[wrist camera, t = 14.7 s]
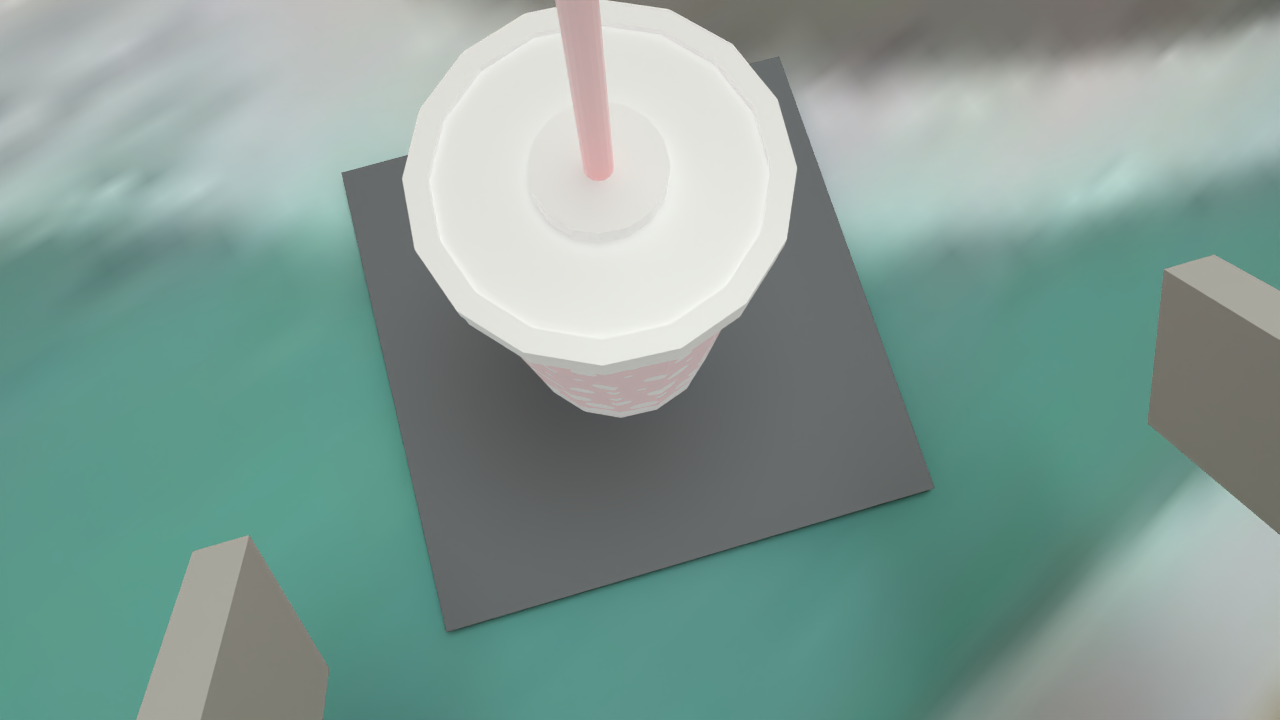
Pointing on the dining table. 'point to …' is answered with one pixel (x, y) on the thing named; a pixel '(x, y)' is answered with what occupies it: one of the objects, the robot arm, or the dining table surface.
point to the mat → (635, 419)
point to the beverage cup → (601, 195)
